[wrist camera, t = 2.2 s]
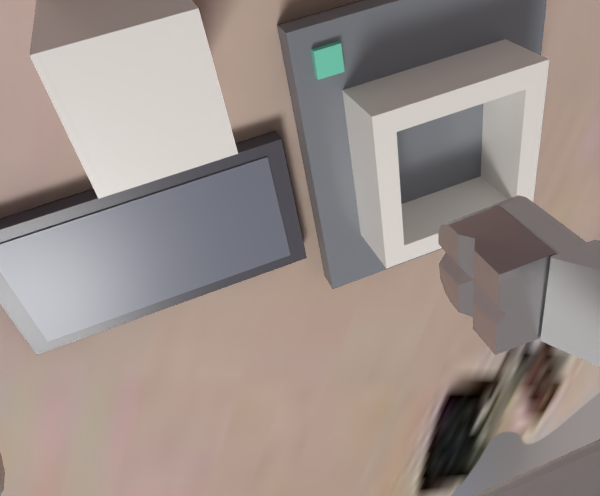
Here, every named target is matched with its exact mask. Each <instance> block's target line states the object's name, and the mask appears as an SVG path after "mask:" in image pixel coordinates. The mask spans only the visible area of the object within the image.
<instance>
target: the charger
mask: <svg viewBox="0 0 600 496" xmlns="http://www.w3.org/2000/svg"><path fill="white" fill-rule="evenodd" d="M30 57H31V59H32V61H33V63H34V66H35V68H36V70H37V72H38V74H39V76H40V78H41V80H42V82H43V84H44V86H45V88H46V91H47V93H48V95H49V97H50V99H51V101H52V103H53V105H54V107H55V109H56V111H57V113H58V116H59V118H60V120H61V122H62V124H63V126H64V128H65V130H66V132H67V134H68V136H69V138H70V141H71V143H72V145H73V147H74V149H75V151H76V153H77V155H78V157H79V159H80V161H81V163H82V166H83V168H84V170H85V172H86V174H87V176H88V178H89V180H90V182H91V184H92V186H93V188H94V191H95V193H96V195H97V197H98V199H100V198H103V197H106V196H109V195H112V194H115V193H118V192H121V191H124V190H127V189H131V188H134V187H137V186H140V185H143V184H146V183H149V182H152V181H155V180H158V179H161V178H165V177H168V176H171V175H174V174H177V173H180V172H183V171H186V170H189V169H192V168H195V167H199V166H202V165H205V164H208V163H211V162H214V161H217V160H220V159H223V158H226V157H230V156H233V155H236V154H238V151H237V147H236V144H235V140H234V136H233V133H232V129H231V125H230V122H229V118H228V114H227V111H226V107H225V103H224V100H223V96H222V92H221V89H220V85H219V81H218V78H217V74H216V70H215V67H214V63H213V59H212V56H211V52H210V48H209V45H208V41H207V37H206V34H205V30H204V26H203V23H202V19H201V15H200V12H199V8H198V7H197V6H196V4H195V3H194V2H193V1H192V0H37V1H36V9H35V17H34V25H33V33H32V40H31V48H30Z"/></svg>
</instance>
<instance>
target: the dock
mask: <svg viewBox="0 0 600 496" xmlns="http://www.w3.org/2000/svg"><path fill="white" fill-rule="evenodd" d="M545 10H546V0H363V1H359V2H356V3H352V4H349V5H345V6H342V7H338V8H335V9H332V10H328V11H325V12H321V13H318V14H314V15H311V16H307V17H304V18H300V19H297V20H293V21H290V22H287V23H283V24H280V25H277V28H278V33H279V38H280V43H281V49H282V54H283V59H284V64H285V69H286V75H287V80H288V85H289V90H290V96H291V101H292V106H293V111H294V117H295V122H296V127H297V132H298V138H299V143H300V148H301V153H302V158H303V164H304V169H305V174H306V179H307V185H308V190H309V195H310V200H311V206H312V211H313V216H314V221H315V227H316V232H317V237H318V242H319V248H320V253H321V258H322V263H323V268H324V274H325V277H326V279H327V280H328V282H329V284H330V285H331V287H332V289H334V288H337V287H340V286H343V285H345V284H348V283H351V282H353V281H356V280H359V279H361V278H364V277H367V276H369V275H372V274H375V273H378V272H380V271H383V270H386V269H388V268H391V267H394V266H396V265H399V264H402V263H404V262H407V261H410V260H413V259H415V258H418V257H421V256H423V255H426V254H429V253H431V252H434V251H437V250H439V249H442V247H441V246H440V245H439V243H438V232H439V229H440V226H441V225H442V224H445V223H447V222H450V221H453V220H455V219H458V218H461V217H464V216H466V215H469V214H472V213H474V212H477V211H480V210H482V209H485V208H488V207H492V206H493V205H494V204H497V203H499V202H502V201H505V200H507V199H510V198H512V197H515V196H518V195H520V196H524V197H527V198H528V199H529V200H531V201H532V202H533V199H534V190H535V181H536V173H537V164H538V155H539V146H540V137H541V128H542V120H543V111H544V102H545V93H546V84H547V75H548V67H549V59H547V58H545V57H543V56H541V49H542V39H543V29H544V20H545Z"/></svg>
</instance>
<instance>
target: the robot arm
mask: <svg viewBox="0 0 600 496" xmlns="http://www.w3.org/2000/svg"><path fill="white" fill-rule="evenodd" d="M438 243H439V245H440V246H441V247H442V248H443V249H444V251H445V252H446V253H445V255H444V256H443V258H442V260H441V261H440V263H439V268H440V279H441V282H442V285H443V288H444V291H445V293H446V295H447V296H448V298H449V300H450V302H451V303H452V304H453V306H454V307H455V308H456V309H457V310H458V312H460V313H463V314H466V315H469V316H472V317H473V329H474V331H475V332H476V333H477V334H478V335H479V336H480V338H481V339H482V340H483V341H484V342H485V343H486V345H487V346H488V347H489V348H490V349H491V350H492V351H493V353H494V354H495V355H496V354H499V353H501V352H504V351H507V350H509V349H512V348H515V347H517V346H520V345H523V344H525V343H528V342H531V341H533V340H536V339H539V338H540V341H543V342H545V343H547V344H549V345H551V346H554V347H556V348H558V349H560V350H562V351H565V352H567V353H569V354H571V355H573V356H576V357H578V358H580V359H582V360H584V361H586V362H589V363H591V364H593V365H595V366H597V367H600V241H599V240H593V241H590V242H585V241H584V240H583V239H581V238H580V237H579V236H577V235H576V234H575V233H573V232H572V231H571V230H569V229H568V228H567V227H565V226H564V225H563V224H561V223H560V222H559V221H557V220H556V219H555V218H553V217H552V216H551V215H549V214H548V213H547V212H545V211H544V210H543V209H541V208H540V207H539V206H537V205H536V204H535V203H533V202H532V201H531V200H529V199H528V198H527V197H524V196H520V195H518V196H515V197H512V198H510V199H507V200H505V201H502V202H499V203H497V204H494V205H493V206H492V207H488V208H485V209H482V210H480V211H477V212H474V213H472V214H469V215H466V216H464V217H461V218H458V219H455V220H453V221H450V222H447V223H445V224H442V225H441V226H440V229H439V232H438ZM4 477H5V472H4V467H3V461H2V456H1V453H0V494H1V493H2V491H3V490H4ZM474 496H600V439H599V440H597V441H595V442H593V443H590V444H588V445H586V446H584V447H582V448H579V449H577V450H575V451H572V452H570V453H568V454H566V455H564V456H561V457H559V458H557V459H555V460H553V461H550V462H548V463H546V464H543V465H541V466H539V467H537V468H534V469H532V470H530V471H528V472H526V473H523V474H521V475H519V476H517V477H514V478H512V479H510V480H508V481H506V482H503V483H501V484H499V485H496V486H494V487H492V488H490V489H487V490H485V491H483V492H481V493H478V494H476V495H474Z"/></svg>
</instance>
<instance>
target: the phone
mask: <svg viewBox="0 0 600 496" xmlns="http://www.w3.org/2000/svg"><path fill="white" fill-rule="evenodd" d="M236 147H237V151H238V154H236V155H233V156H230V157H226V158H223V159H220V160H217V161H214V162H211V163H208V164H205V165H202V166H199V167H195V168H192V169H189V170H186V171H183V172H180V173H177V174H174V175H171V176H168V177H165V178H161V179H158V180H155V181H152V182H149V183H146V184H143V185H140V186H137V187H134V188H131V189H127V190H124V191H121V192H118V193H115V194H112V195H109V196H106V197H103V198H100V199H98V197H97V195H96V193H95V191H94V189H92V190H89V191H86V192H83V193H80V194H77V195H74V196H70V197H67V198H64V199H61V200H58V201H55V202H52V203H49V204H45V205H42V206H39V207H36V208H33V209H30V210H27V211H23V212H20V213H17V214H14V215H11V216H8V217H5V218H2V219H0V304H1V306H2V307H3V309H4V310H5V311H6V313H7V314H8V316H9V317H10V318H11V320H12V321H13V323H14V324H15V325H16V327H17V328H18V329H19V331H20V332H21V334H22V335H23V336H24V338H25V339H26V341H27V342H28V343H29V345H30V346H31V348H32V349H33V350H34V352H35V353H36V355H38V354H40V353H43V352H46V351H49V350H51V349H54V348H57V347H60V346H63V345H65V344H68V343H71V342H74V341H77V340H79V339H82V338H85V337H88V336H90V335H93V334H96V333H99V332H102V331H104V330H107V329H110V328H113V327H115V326H118V325H121V324H124V323H127V322H129V321H132V320H135V319H138V318H141V317H143V316H146V315H149V314H152V313H154V312H157V311H160V310H163V309H166V308H168V307H171V306H174V305H177V304H179V303H182V302H185V301H188V300H191V299H193V298H196V297H199V296H202V295H205V294H207V293H210V292H213V291H216V290H218V289H221V288H224V287H227V286H230V285H232V284H235V283H238V282H241V281H243V280H246V279H249V278H252V277H255V276H257V275H260V274H263V273H266V272H269V271H271V270H274V269H277V268H280V267H282V266H285V265H288V264H291V263H294V262H296V261H299V260H302V259H305V258H307V257H306V252H305V248H304V243H303V238H302V234H301V229H300V224H299V219H298V215H297V210H296V205H295V201H294V196H293V191H292V187H291V182H290V177H289V172H288V168H287V163H286V158H285V154H284V149H283V144H282V140H281V138H280V137H279V135H278V134H277V132H276V131H274V132H271V133H268V134H264V135H261V136H258V137H255V138H252V139H249V140H246V141H243V142H239V143H236Z"/></svg>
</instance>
